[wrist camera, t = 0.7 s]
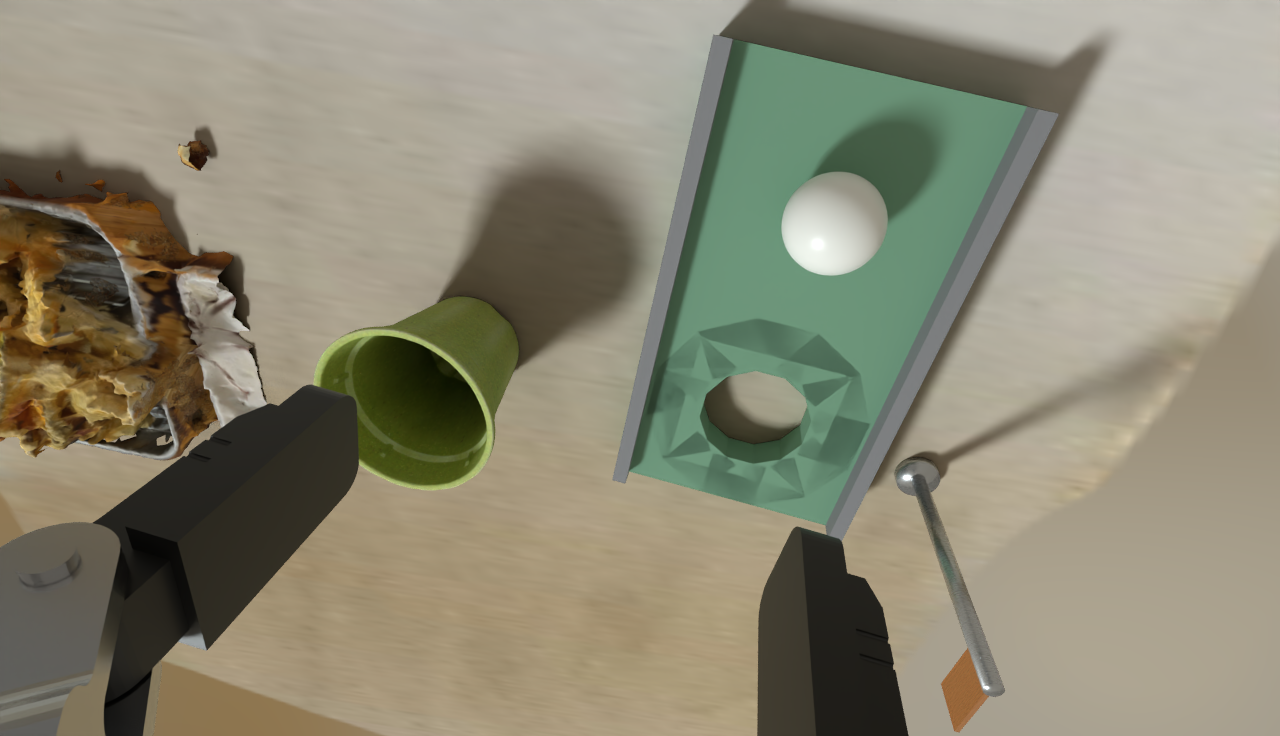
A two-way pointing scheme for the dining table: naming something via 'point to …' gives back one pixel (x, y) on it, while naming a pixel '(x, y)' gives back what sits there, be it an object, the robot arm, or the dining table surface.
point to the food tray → (114, 327)
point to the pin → (976, 665)
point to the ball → (834, 223)
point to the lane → (805, 301)
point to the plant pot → (425, 391)
